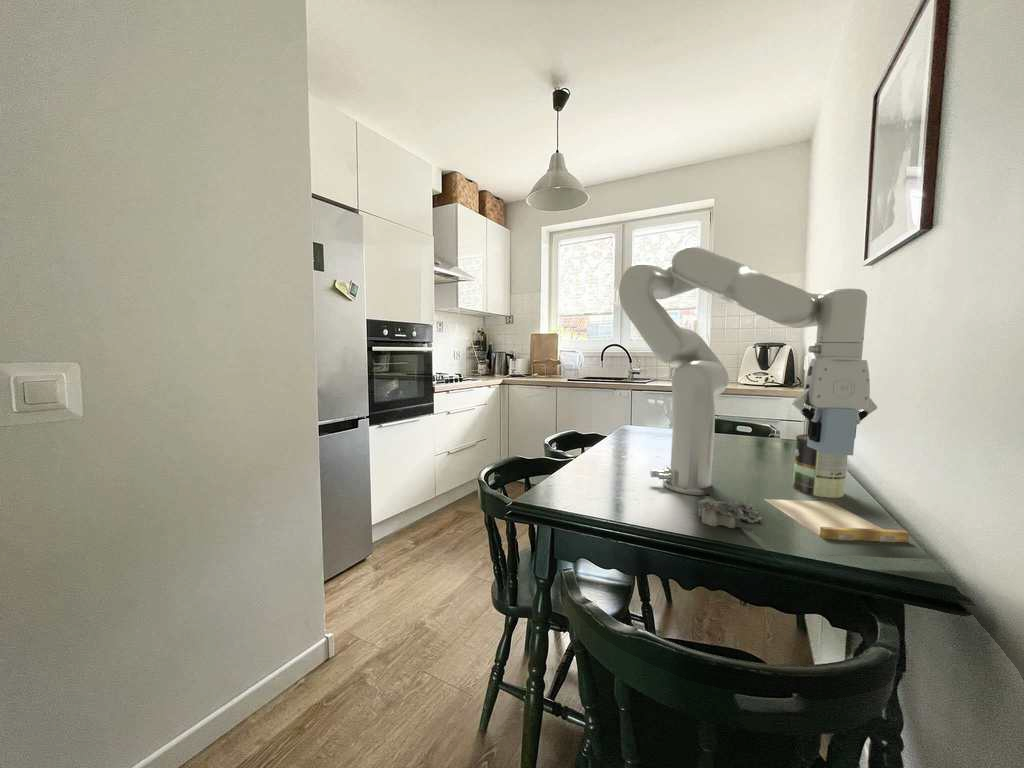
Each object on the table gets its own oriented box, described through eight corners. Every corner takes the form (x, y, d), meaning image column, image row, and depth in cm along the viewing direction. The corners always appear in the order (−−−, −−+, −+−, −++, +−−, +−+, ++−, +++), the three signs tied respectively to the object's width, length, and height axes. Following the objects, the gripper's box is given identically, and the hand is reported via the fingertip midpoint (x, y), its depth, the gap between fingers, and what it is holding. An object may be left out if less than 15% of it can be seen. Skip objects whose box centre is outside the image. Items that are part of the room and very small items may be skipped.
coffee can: (786, 495, 103) (791, 437, 102) (797, 486, 111) (801, 432, 109) (839, 507, 96) (845, 445, 95) (847, 497, 103) (853, 439, 102)
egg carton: (701, 526, 85) (702, 506, 84) (696, 512, 92) (697, 493, 91) (762, 533, 82) (763, 512, 81) (751, 518, 89) (753, 499, 89)
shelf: (823, 547, 76) (825, 529, 76) (762, 505, 96) (763, 491, 96) (908, 550, 75) (910, 533, 75) (829, 508, 95) (830, 494, 95)
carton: (824, 453, 85) (828, 408, 84) (806, 445, 92) (810, 403, 91) (854, 455, 84) (859, 409, 83) (834, 447, 91) (838, 405, 90)
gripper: (800, 351, 84) (792, 443, 85) (900, 353, 81) (891, 448, 82) (783, 351, 91) (776, 435, 93) (874, 353, 88) (866, 440, 90)
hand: (830, 440), depth 88 cm, fingers closed on carton, 5 cm apart
